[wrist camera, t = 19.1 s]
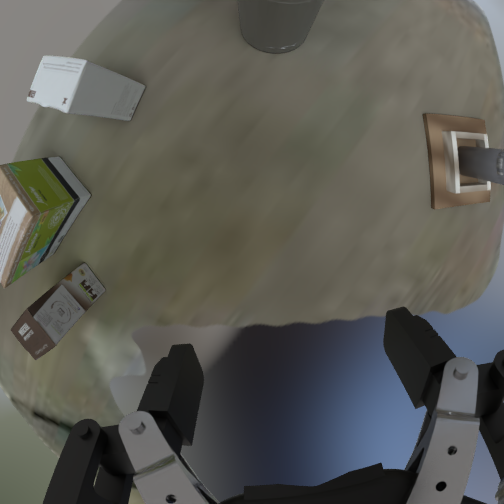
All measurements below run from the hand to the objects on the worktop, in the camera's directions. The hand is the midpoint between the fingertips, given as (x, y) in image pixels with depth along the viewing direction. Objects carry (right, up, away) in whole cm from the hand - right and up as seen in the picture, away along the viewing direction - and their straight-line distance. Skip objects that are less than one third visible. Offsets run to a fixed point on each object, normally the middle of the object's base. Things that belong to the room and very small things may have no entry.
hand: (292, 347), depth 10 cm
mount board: (+33, +19, +23) cm, 44 cm away
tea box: (-35, +11, +26) cm, 45 cm away
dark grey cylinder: (+33, +19, +22) cm, 44 cm away
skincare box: (-21, +26, +21) cm, 40 cm away
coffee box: (-32, -2, +31) cm, 45 cm away
